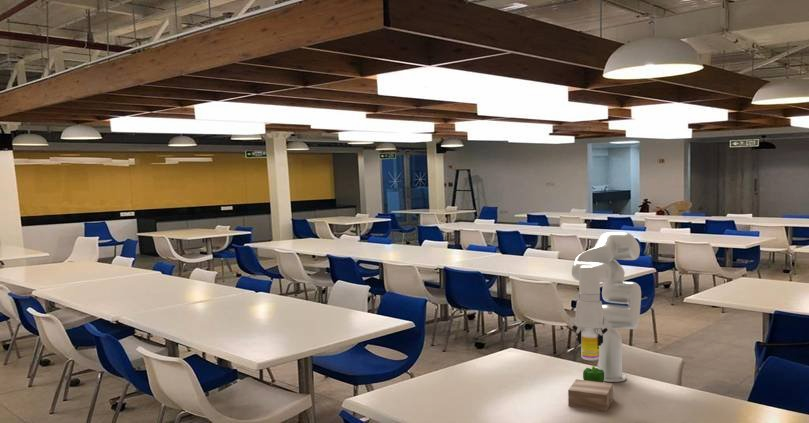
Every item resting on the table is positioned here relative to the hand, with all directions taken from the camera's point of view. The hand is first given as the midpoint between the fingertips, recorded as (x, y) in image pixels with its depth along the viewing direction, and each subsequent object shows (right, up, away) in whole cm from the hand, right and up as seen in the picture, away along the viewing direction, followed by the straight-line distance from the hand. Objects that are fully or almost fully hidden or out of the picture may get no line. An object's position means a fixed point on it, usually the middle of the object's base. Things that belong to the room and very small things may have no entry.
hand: (590, 343), depth 236 cm
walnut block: (+1, -23, +1) cm, 23 cm away
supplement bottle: (0, -6, 0) cm, 6 cm away
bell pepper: (+6, -22, +16) cm, 28 cm away
